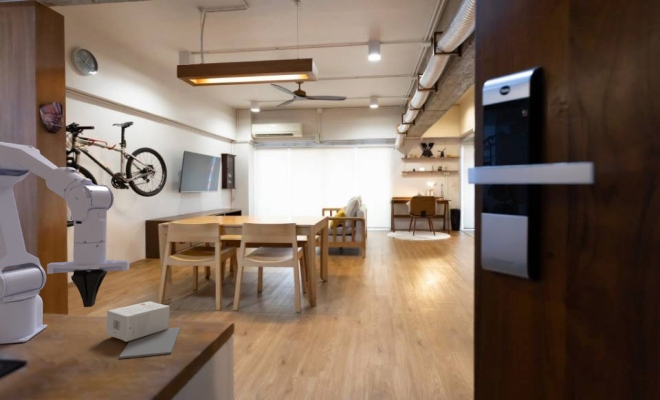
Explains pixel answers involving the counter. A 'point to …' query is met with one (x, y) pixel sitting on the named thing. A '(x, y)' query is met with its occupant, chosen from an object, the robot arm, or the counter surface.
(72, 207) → the robot arm
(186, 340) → the counter surface
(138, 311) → the small box
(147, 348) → the gray mat
